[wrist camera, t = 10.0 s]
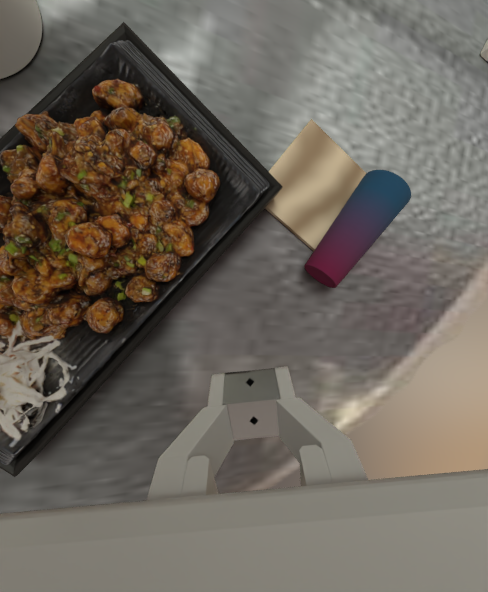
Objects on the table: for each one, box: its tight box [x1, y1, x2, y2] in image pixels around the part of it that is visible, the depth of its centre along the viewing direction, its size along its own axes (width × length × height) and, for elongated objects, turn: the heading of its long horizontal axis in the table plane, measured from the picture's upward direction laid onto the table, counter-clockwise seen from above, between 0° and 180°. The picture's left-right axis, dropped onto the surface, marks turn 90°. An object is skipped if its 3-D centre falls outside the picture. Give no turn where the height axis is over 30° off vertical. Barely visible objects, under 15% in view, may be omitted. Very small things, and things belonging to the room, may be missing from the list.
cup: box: [304, 170, 411, 288], centre depth 35 cm, size 7×7×15 cm
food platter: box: [0, 22, 283, 477], centre depth 27 cm, size 45×25×10 cm, turn 138°
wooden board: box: [265, 119, 366, 251], centre depth 38 cm, size 18×14×1 cm
